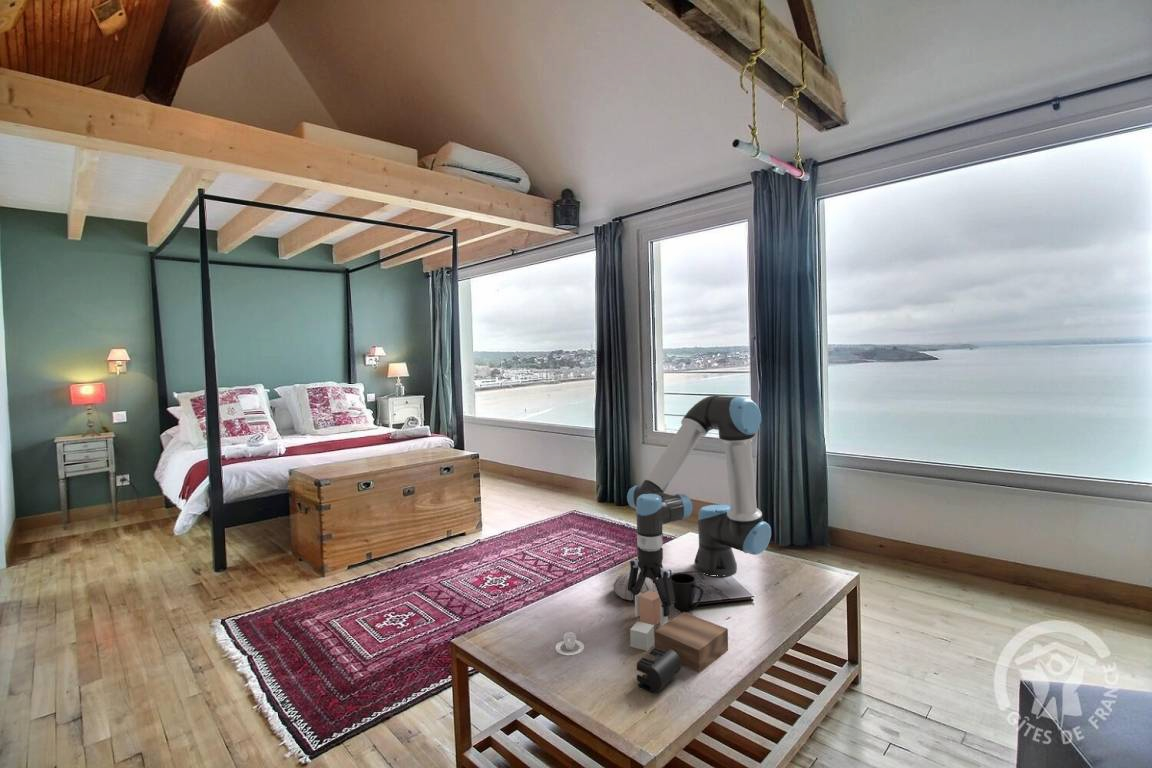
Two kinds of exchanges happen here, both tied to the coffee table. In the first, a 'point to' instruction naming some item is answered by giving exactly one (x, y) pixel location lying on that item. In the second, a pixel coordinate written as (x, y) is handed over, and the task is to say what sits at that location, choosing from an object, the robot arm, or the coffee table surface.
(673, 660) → the end cap
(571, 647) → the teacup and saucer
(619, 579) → the sea urchin shell
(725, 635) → the walnut block
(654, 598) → the terracotta block
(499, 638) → the coffee table surface
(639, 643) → the grey cube
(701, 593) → the mug
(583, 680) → the coffee table surface
